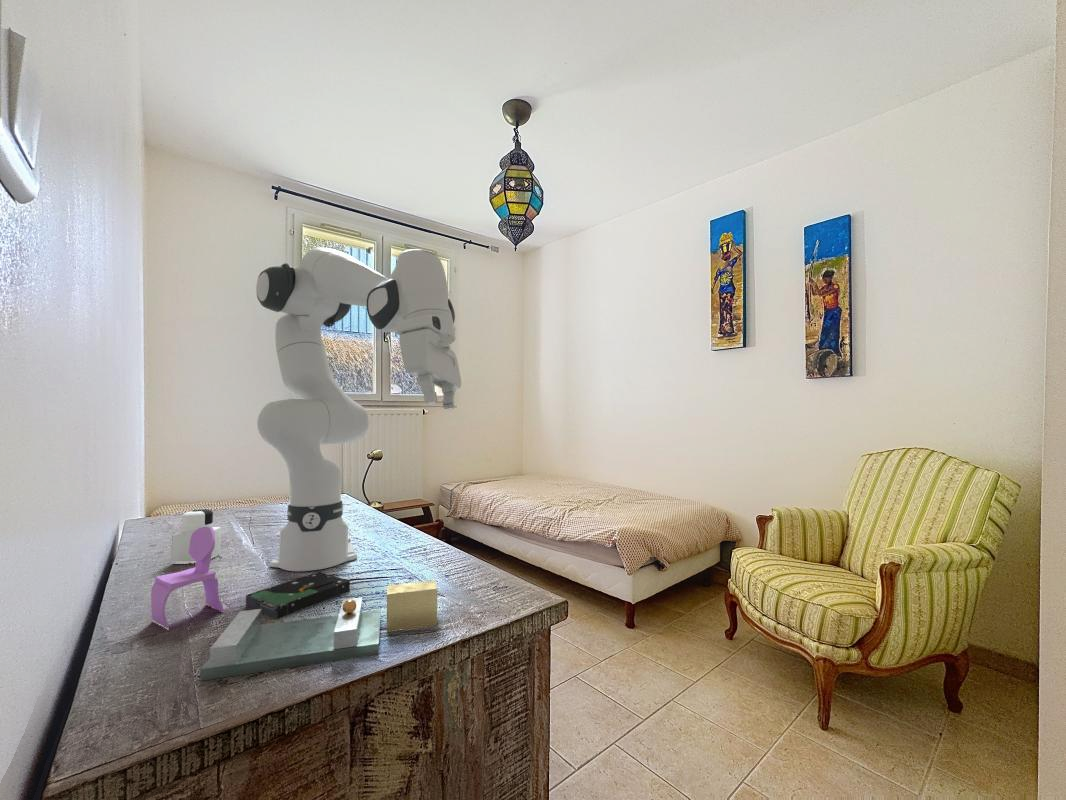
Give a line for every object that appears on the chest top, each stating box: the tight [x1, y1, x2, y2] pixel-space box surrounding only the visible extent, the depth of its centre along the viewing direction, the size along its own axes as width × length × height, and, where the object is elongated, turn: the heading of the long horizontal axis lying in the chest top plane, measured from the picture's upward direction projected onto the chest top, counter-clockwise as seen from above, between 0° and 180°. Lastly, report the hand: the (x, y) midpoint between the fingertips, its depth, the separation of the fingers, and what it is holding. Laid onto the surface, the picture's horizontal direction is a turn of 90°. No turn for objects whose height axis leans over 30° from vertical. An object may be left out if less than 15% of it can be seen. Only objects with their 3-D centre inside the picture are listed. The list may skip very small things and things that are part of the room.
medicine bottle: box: [171, 508, 222, 561], centre depth 109 cm, size 7×7×12 cm
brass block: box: [385, 580, 438, 632], centre depth 75 cm, size 4×8×6 cm, turn 107°
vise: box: [199, 609, 382, 682], centre depth 67 cm, size 12×22×4 cm, turn 107°
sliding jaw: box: [334, 597, 363, 649], centre depth 69 cm, size 12×3×4 cm, turn 17°
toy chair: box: [150, 526, 225, 628], centre depth 77 cm, size 8×9×15 cm
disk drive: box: [245, 571, 351, 620], centre depth 85 cm, size 10×3×15 cm
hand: (440, 406), depth 80 cm, fingers open, 8 cm apart
